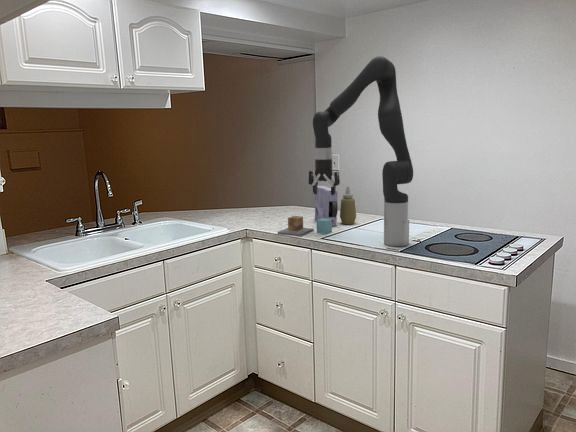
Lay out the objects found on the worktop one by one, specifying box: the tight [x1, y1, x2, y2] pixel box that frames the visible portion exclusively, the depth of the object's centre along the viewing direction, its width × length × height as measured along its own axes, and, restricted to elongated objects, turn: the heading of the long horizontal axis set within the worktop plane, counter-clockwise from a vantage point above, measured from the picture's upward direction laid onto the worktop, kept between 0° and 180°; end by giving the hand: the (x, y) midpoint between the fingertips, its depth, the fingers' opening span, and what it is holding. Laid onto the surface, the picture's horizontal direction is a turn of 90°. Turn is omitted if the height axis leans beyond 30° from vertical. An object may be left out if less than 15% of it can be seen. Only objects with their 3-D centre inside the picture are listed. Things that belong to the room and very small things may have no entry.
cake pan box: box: [314, 185, 339, 227], centre depth 228 cm, size 19×5×18 cm, turn 18°
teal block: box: [316, 218, 333, 235], centre depth 210 cm, size 5×5×6 cm
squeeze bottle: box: [339, 186, 357, 225], centre depth 226 cm, size 8×8×18 cm
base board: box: [277, 227, 315, 238], centre depth 212 cm, size 12×12×1 cm
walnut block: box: [287, 215, 304, 232], centre depth 211 cm, size 5×5×6 cm
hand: (324, 194), depth 207 cm, fingers open, 8 cm apart
